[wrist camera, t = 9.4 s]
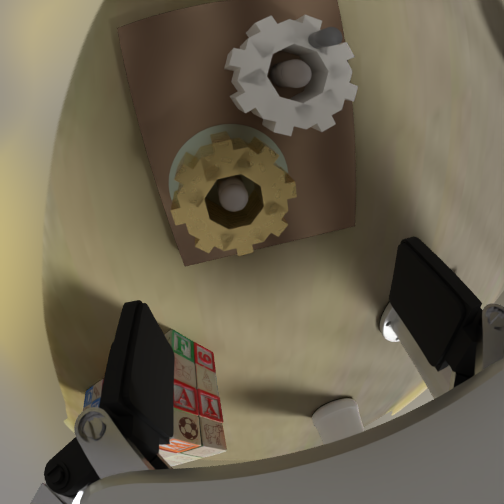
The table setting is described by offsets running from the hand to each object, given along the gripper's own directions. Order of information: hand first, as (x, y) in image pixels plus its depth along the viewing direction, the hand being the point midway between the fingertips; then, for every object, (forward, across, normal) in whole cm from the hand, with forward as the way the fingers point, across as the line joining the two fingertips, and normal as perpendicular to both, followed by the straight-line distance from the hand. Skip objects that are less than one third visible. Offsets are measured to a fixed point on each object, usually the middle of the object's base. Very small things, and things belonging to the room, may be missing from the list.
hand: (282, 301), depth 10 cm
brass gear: (+11, +1, -1) cm, 11 cm away
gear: (+11, -4, -8) cm, 14 cm away
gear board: (+12, -1, -4) cm, 13 cm away
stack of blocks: (+13, +17, +21) cm, 30 cm away
